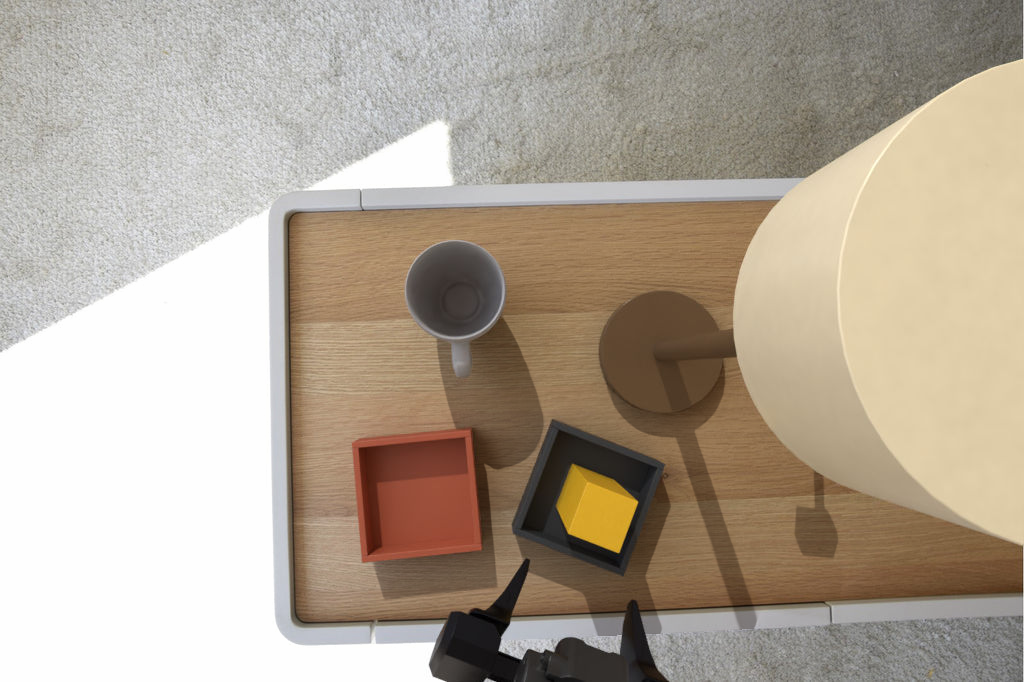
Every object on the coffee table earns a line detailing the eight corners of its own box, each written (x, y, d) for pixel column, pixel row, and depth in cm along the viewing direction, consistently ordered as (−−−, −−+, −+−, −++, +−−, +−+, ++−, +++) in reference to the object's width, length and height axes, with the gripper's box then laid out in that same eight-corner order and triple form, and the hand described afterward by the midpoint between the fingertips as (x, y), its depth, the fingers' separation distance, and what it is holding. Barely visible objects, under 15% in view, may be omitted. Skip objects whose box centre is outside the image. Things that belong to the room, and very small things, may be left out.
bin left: (482, 540, 65) (482, 550, 61) (369, 552, 64) (361, 563, 61) (472, 427, 65) (470, 430, 62) (359, 438, 65) (351, 442, 61)
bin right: (616, 565, 65) (623, 576, 61) (511, 524, 65) (512, 533, 61) (656, 459, 66) (665, 464, 62) (552, 418, 65) (555, 421, 62)
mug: (414, 261, 66) (400, 242, 56) (501, 255, 66) (503, 235, 56) (422, 380, 65) (409, 382, 56) (510, 374, 66) (513, 374, 56)
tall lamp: (715, 432, 66) (1303, 596, 18) (578, 408, 66) (802, 509, 18) (736, 296, 67) (1359, 101, 19) (601, 272, 66) (877, 11, 18)
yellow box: (598, 522, 64) (619, 553, 54) (555, 506, 64) (567, 533, 53) (614, 479, 65) (638, 501, 54) (572, 463, 65) (587, 481, 54)
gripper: (740, 831, 36) (736, 578, 48) (425, 709, 36) (498, 485, 48) (655, 862, 44) (669, 637, 55) (394, 761, 44) (463, 557, 55)
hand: (579, 581), depth 53 cm, fingers open, 9 cm apart
